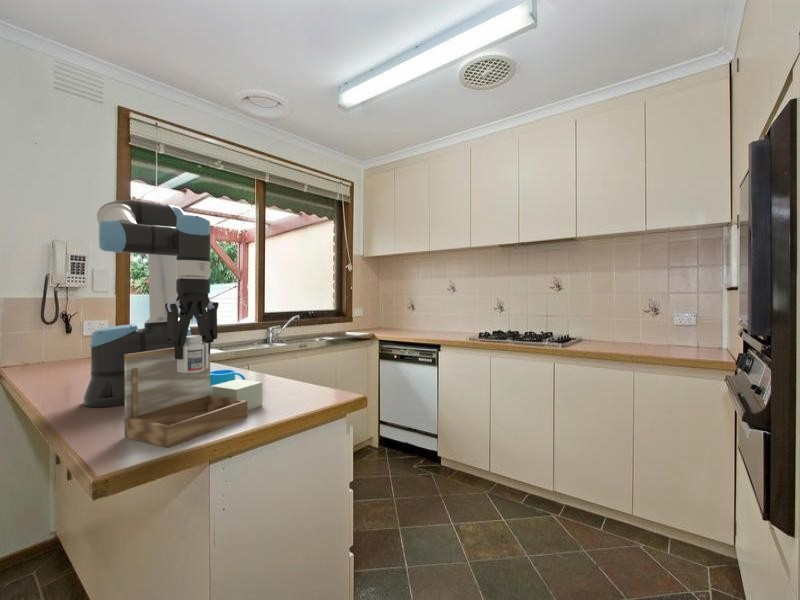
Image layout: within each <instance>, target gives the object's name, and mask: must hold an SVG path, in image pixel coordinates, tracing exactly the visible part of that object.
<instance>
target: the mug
mask: <svg viewBox="0 0 800 600" xmlns="http://www.w3.org/2000/svg"><path fill="white" fill-rule="evenodd" d="M236 376H238V377H240V378H241V380H246V377H245V376H244V375H243V374H242V373H240V372H236V370H233V369H218V370H212V371H211V370H210V395H211V386H213V385H217V384H220V383H224V382H228V381H232V380H236Z"/></svg>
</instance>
